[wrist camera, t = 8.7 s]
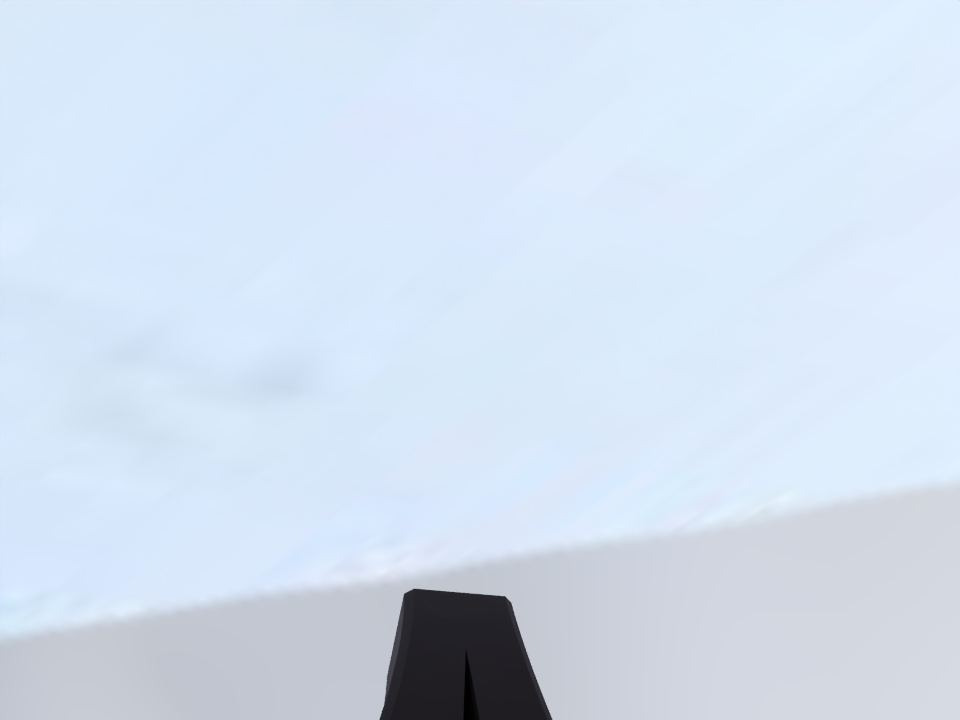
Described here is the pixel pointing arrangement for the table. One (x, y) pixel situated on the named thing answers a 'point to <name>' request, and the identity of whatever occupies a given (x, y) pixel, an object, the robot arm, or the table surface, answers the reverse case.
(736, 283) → the table surface
